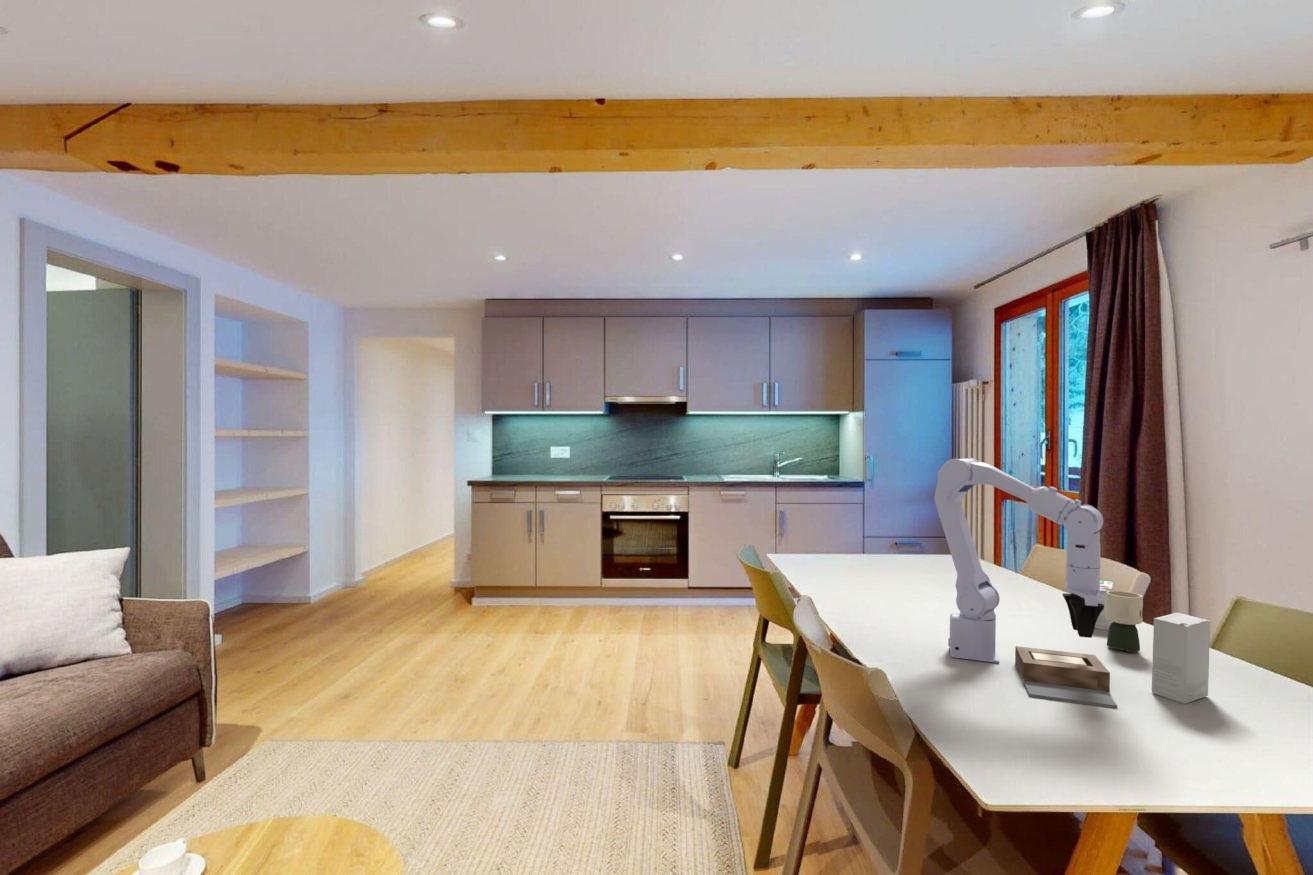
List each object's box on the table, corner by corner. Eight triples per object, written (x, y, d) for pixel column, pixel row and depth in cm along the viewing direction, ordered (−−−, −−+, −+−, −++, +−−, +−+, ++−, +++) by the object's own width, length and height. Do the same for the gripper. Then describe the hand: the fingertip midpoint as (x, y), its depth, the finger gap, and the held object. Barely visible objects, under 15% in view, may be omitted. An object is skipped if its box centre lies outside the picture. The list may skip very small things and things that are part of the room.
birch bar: (1081, 667, 135) (1081, 657, 135) (1086, 675, 131) (1086, 664, 131) (1031, 661, 138) (1031, 652, 138) (1034, 668, 134) (1035, 658, 134)
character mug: (1151, 659, 146) (1152, 600, 146) (1113, 655, 148) (1114, 597, 148) (1132, 644, 156) (1132, 589, 156) (1097, 641, 158) (1098, 587, 158)
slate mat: (1029, 696, 124) (1029, 693, 124) (1023, 683, 131) (1023, 680, 131) (1117, 708, 119) (1117, 705, 119) (1106, 693, 126) (1106, 691, 126)
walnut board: (1094, 673, 137) (1094, 655, 137) (1109, 692, 126) (1109, 672, 126) (1015, 663, 142) (1015, 646, 142) (1023, 681, 132) (1023, 662, 132)
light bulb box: (1082, 617, 180) (1083, 577, 180) (1112, 621, 176) (1113, 581, 176) (1080, 626, 171) (1080, 584, 171) (1111, 631, 167) (1112, 588, 167)
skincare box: (1174, 686, 130) (1175, 611, 130) (1210, 697, 124) (1212, 619, 124) (1149, 693, 126) (1151, 616, 126) (1186, 705, 121) (1187, 624, 121)
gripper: (1117, 574, 125) (1116, 646, 125) (1096, 561, 138) (1095, 625, 138) (1073, 571, 127) (1072, 641, 127) (1058, 558, 141) (1057, 622, 141)
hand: (1082, 633), depth 133 cm, fingers open, 4 cm apart
